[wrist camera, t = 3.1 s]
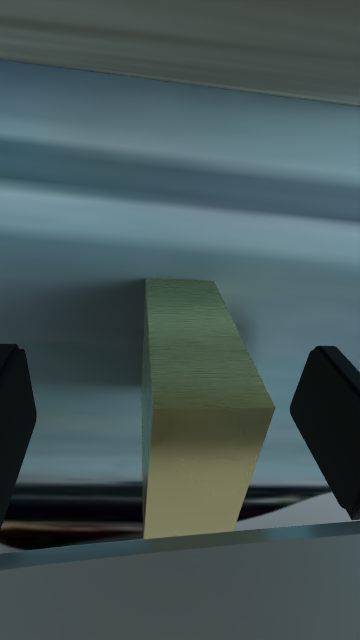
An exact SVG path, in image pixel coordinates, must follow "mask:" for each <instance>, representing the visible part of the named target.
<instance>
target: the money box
mask: <svg viewBox="0 0 360 640" xmlns="http://www.w3.org/2000/svg"><path fill="white" fill-rule="evenodd" d="M0 60H8V61H16V62H23V63H31V64H39V65H46V66H54V67H62V68H69V69H77V70H85V71H92V72H100V73H108V74H115V75H123V76H131V77H138V78H146V79H154V80H161V81H169V82H177V83H184V84H192V85H200V86H207V87H215V88H223V89H230V90H238V91H246V92H253V93H261V94H269V95H276V96H284V97H292V98H299V99H307V100H315V101H322V102H330V103H338V104H345V105H353V106H360V0H0Z"/></svg>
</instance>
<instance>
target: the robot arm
mask: <svg viewBox="0 0 360 640" xmlns="http://www.w3.org/2000/svg"><path fill="white" fill-rule="evenodd" d="M290 413H291V416H292V418H293V420H294V422H295V424H296V426H297V428H298V429H299V431H300V433H301V435H302V437H303V439H304V440H305V442H306V444H307V446H308V448H309V450H310V451H311V453H312V455H313V457H314V459H315V461H316V462H317V464H318V466H319V468H320V470H321V472H322V474H323V475H324V477H325V479H326V481H327V483H328V485H329V486H330V488H331V490H332V492H333V494H334V496H335V497H336V499H337V501H338V503H339V504H340V506H341V507H342V508H344V509H346V511H347V512H348V514H349V516H350V518H351V520H359V519H360V372H359V371H358V370H357V369H356V368H355V367H354V366H353V365H352V364H351V362H350V361H349V360H348V359H347V358H346V357H345V356H344V355H343V354H342V353H341V352H340V350H339V349H338V348H337V347H335V346H317V347H316V348H315V349H314V350H312V351H311V352H310V353H309V356H308V359H307V362H306V364H305V367H304V370H303V372H302V375H301V378H300V381H299V383H298V386H297V389H296V391H295V394H294V397H293V400H292V402H291V405H290ZM35 423H36V407H35V402H34V397H33V391H32V386H31V380H30V375H29V370H28V364H27V359H26V354H25V350H24V349H19V347H18V345H16V344H0V529H1V526H2V523H3V520H4V517H5V514H6V511H7V508H8V505H9V502H10V499H11V496H12V493H13V490H14V487H15V484H16V481H17V478H18V475H19V472H20V469H21V466H22V463H23V459H24V456H25V453H26V450H27V447H28V444H29V441H30V438H31V435H32V432H33V429H34V426H35ZM0 640H360V521H353V522H341V523H328V524H316V525H303V526H291V527H279V528H267V529H256V530H244V531H232V532H220V533H209V534H197V535H186V536H174V537H163V538H152V539H141V540H130V541H120V542H109V543H98V544H87V545H76V546H66V547H57V548H48V549H39V550H30V551H21V552H13V553H3V554H0Z"/></svg>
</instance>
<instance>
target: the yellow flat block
mask: <svg viewBox="0 0 360 640" xmlns="http://www.w3.org/2000/svg"><path fill="white" fill-rule="evenodd" d="M141 403H142V477H143V539H152V538H163V537H174V536H186V535H197V534H209V533H220V532H232V531H233V530H234V527H235V524H236V521H237V518H238V515H239V512H240V509H241V506H242V503H243V501H244V498H245V495H246V492H247V489H248V486H249V483H250V480H251V477H252V474H253V471H254V468H255V465H256V463H257V460H258V457H259V454H260V451H261V448H262V445H263V442H264V439H265V436H266V433H267V430H268V428H269V425H270V422H271V419H272V416H273V413H274V410H275V406H274V404H273V402H272V400H271V398H270V396H269V394H268V392H267V389H266V387H265V385H264V383H263V381H262V379H261V377H260V375H259V373H258V371H257V369H256V367H255V365H254V363H253V361H252V359H251V356H250V354H249V352H248V350H247V348H246V346H245V344H244V342H243V340H242V338H241V336H240V334H239V332H238V330H237V328H236V326H235V324H234V321H233V319H232V317H231V315H230V313H229V311H228V309H227V307H226V305H225V303H224V301H223V299H222V297H221V295H220V293H219V291H218V288H217V286H216V284H215V282H214V281H198V280H174V279H149V278H146V289H145V313H144V336H143V359H142V382H141Z"/></svg>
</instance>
